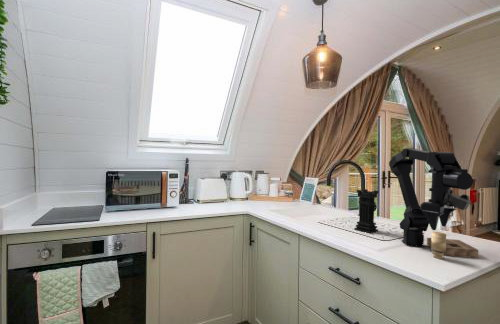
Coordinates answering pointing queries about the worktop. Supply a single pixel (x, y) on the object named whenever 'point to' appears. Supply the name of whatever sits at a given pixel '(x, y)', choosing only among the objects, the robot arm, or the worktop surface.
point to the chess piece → (366, 211)
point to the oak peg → (438, 244)
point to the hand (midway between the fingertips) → (438, 228)
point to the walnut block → (458, 248)
